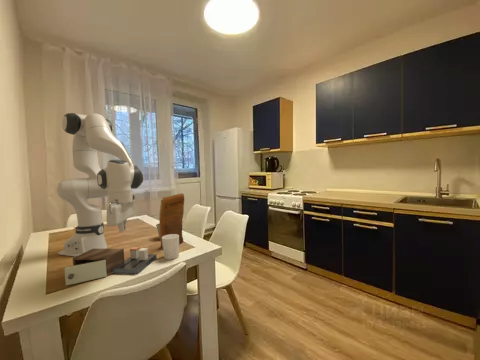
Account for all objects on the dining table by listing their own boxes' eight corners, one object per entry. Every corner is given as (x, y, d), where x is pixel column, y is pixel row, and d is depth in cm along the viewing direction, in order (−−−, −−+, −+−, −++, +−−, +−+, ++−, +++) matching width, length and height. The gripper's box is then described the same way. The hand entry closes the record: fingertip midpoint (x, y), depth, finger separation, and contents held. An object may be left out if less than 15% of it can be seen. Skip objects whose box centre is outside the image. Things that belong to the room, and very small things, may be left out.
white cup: (170, 261, 103) (169, 239, 102) (159, 258, 107) (158, 237, 106) (183, 255, 109) (182, 235, 109) (172, 252, 114) (171, 233, 113)
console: (112, 273, 92) (112, 268, 92) (134, 258, 108) (134, 253, 108) (137, 274, 91) (137, 269, 91) (156, 258, 107) (156, 254, 107)
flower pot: (169, 240, 134) (168, 225, 134) (154, 240, 134) (153, 226, 134) (174, 235, 144) (173, 222, 143) (159, 236, 144) (159, 222, 143)
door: (65, 287, 82) (63, 269, 82) (66, 284, 84) (65, 267, 84) (106, 277, 88) (105, 261, 88) (106, 275, 91) (105, 259, 90)
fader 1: (130, 258, 102) (129, 249, 102) (134, 256, 105) (133, 246, 105) (136, 258, 102) (135, 249, 102) (140, 256, 105) (139, 246, 105)
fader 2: (138, 260, 100) (138, 250, 100) (142, 257, 103) (141, 248, 103) (145, 260, 100) (144, 250, 99) (148, 257, 103) (148, 248, 102)
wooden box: (73, 274, 93) (72, 258, 92) (94, 263, 104) (93, 248, 103) (107, 275, 91) (106, 258, 91) (124, 263, 102) (123, 248, 102)
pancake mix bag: (190, 240, 132) (188, 193, 131) (164, 251, 116) (161, 197, 114) (182, 239, 136) (179, 192, 134) (155, 249, 119) (152, 196, 118)
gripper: (118, 201, 85) (120, 237, 86) (136, 195, 105) (138, 224, 106) (100, 202, 84) (102, 238, 85) (122, 195, 104) (123, 225, 105)
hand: (122, 230), depth 96 cm, fingers closed
